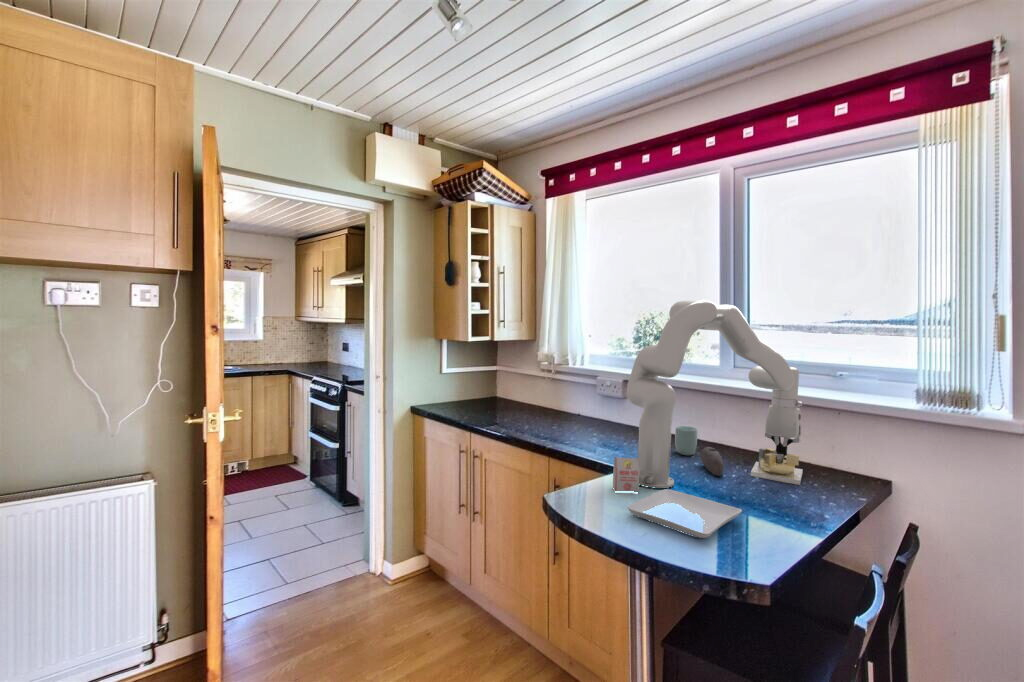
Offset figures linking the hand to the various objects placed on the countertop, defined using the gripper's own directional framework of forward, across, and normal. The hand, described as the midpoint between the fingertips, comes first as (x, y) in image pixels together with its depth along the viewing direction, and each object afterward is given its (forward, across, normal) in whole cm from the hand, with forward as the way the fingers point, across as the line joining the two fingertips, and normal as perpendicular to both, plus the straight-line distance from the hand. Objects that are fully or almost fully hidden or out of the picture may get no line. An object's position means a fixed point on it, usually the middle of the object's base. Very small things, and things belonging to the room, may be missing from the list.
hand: (781, 456), depth 164 cm
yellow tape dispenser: (+3, -1, +5) cm, 6 cm away
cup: (+6, +31, +5) cm, 32 cm away
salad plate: (+6, +4, +63) cm, 64 cm away
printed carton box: (+6, +25, +57) cm, 63 cm away
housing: (+5, 0, +4) cm, 7 cm away
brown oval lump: (+6, +16, +18) cm, 24 cm away
